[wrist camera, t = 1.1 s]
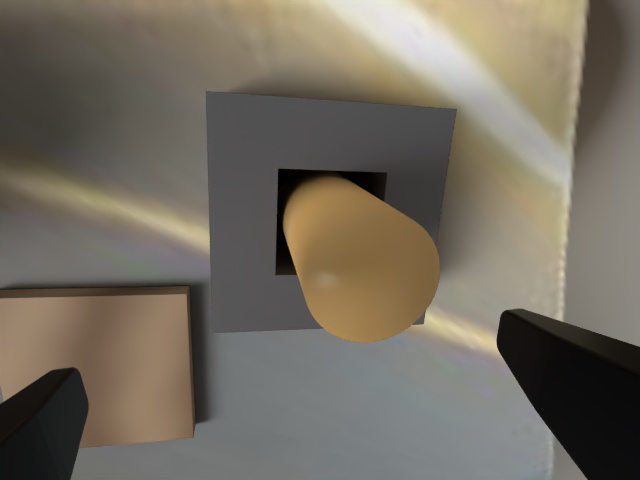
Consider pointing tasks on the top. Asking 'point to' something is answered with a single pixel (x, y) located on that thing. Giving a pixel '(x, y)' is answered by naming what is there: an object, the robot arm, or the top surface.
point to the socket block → (311, 154)
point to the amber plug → (356, 257)
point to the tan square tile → (107, 356)
